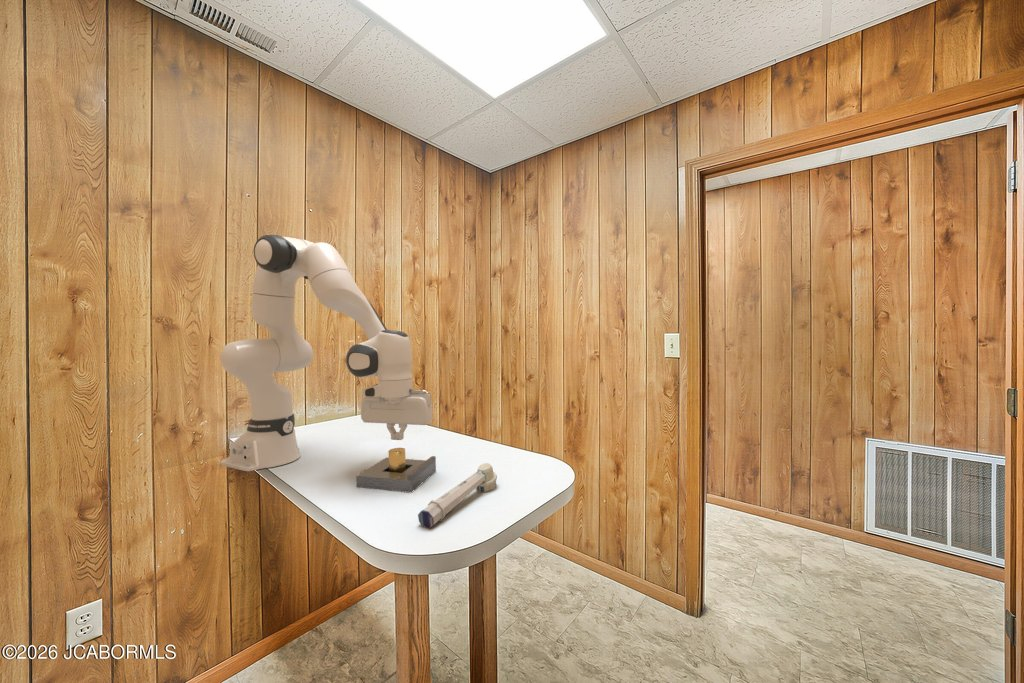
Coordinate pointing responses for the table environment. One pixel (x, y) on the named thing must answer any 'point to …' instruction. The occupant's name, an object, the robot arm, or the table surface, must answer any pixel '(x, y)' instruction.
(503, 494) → the table surface
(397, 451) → the gold metallic cylinder
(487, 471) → the beige piece
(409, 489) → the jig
